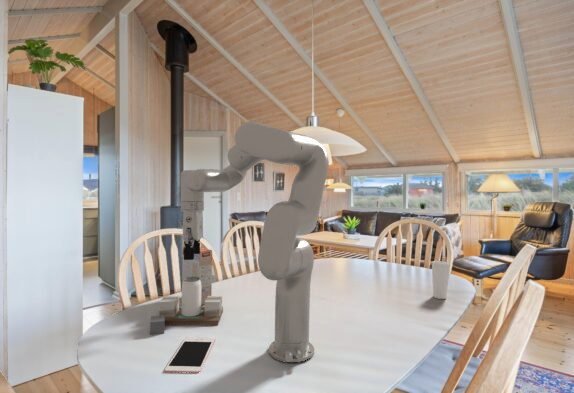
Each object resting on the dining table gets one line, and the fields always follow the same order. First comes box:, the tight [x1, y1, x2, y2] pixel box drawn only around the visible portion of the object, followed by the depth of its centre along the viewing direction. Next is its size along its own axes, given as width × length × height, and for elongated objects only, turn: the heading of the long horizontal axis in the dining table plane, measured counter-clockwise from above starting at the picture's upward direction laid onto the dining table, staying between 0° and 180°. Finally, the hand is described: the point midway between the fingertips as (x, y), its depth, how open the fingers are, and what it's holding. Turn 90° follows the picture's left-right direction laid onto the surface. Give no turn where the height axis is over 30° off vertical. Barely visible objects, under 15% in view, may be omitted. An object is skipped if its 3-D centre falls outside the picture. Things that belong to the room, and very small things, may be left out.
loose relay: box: [149, 315, 166, 336], centre depth 106 cm, size 5×4×4 cm
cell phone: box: [164, 336, 216, 374], centre depth 92 cm, size 9×18×1 cm, turn 0°
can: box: [181, 277, 202, 317], centre depth 116 cm, size 6×6×12 cm
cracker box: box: [181, 246, 213, 306], centre depth 134 cm, size 14×6×21 cm, turn 43°
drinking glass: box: [431, 260, 450, 300], centre depth 143 cm, size 7×7×15 cm
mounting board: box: [158, 295, 224, 326], centre depth 116 cm, size 12×20×6 cm, turn 93°
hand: (192, 256), depth 115 cm, fingers open, 9 cm apart
